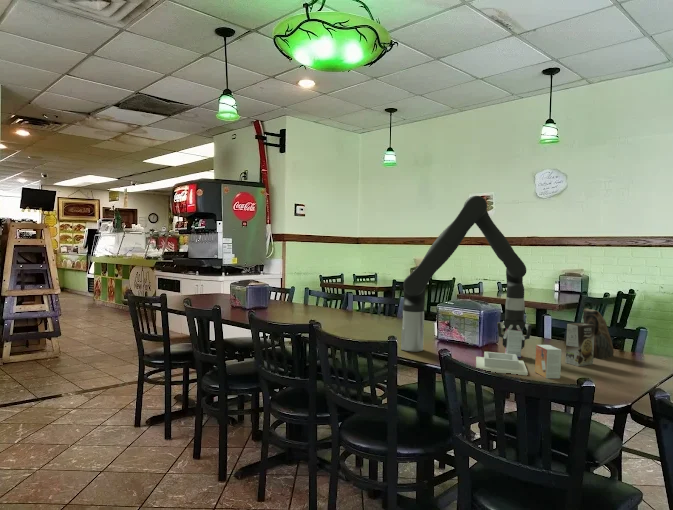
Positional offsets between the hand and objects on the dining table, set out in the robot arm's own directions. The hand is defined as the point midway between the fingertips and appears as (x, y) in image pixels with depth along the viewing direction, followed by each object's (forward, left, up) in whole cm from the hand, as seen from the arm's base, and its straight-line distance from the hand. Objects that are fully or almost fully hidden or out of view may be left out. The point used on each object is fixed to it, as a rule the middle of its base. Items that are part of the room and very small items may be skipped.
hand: (513, 347), depth 205 cm
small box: (+10, -27, -4) cm, 29 cm away
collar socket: (-6, -21, -4) cm, 22 cm away
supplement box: (0, 0, -4) cm, 4 cm away
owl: (+36, +16, -4) cm, 40 cm away
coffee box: (+25, -3, -4) cm, 25 cm away
